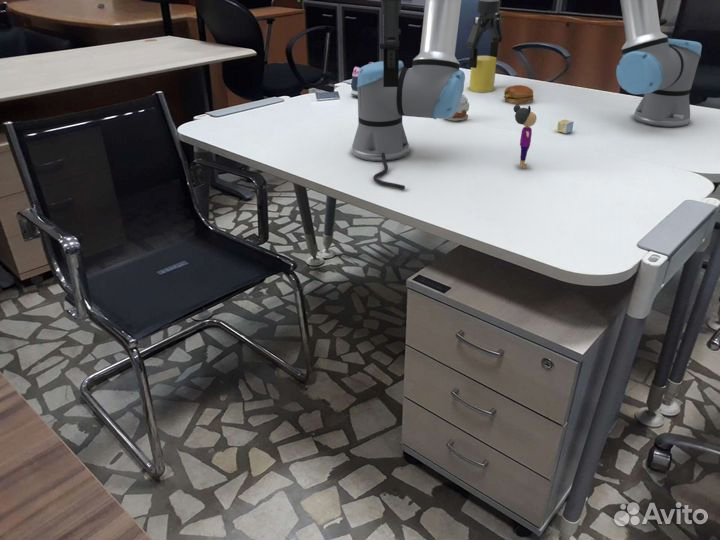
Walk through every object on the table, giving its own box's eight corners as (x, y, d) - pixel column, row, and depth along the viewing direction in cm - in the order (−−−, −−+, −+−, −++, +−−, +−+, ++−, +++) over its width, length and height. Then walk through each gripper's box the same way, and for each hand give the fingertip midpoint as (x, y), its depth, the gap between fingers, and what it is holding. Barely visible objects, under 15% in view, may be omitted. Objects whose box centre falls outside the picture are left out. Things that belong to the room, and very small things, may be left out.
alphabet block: (565, 133, 164) (567, 123, 162) (556, 131, 166) (558, 121, 164) (572, 131, 165) (574, 121, 164) (563, 129, 168) (565, 119, 166)
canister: (485, 85, 216) (488, 54, 210) (498, 90, 209) (501, 59, 203) (465, 87, 214) (467, 56, 208) (477, 93, 206) (479, 61, 201)
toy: (530, 174, 138) (539, 113, 130) (507, 173, 139) (514, 112, 131) (528, 159, 147) (536, 101, 139) (506, 158, 148) (513, 100, 140)
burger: (537, 99, 196) (538, 85, 194) (525, 105, 190) (527, 91, 188) (510, 95, 202) (511, 82, 199) (498, 101, 195) (499, 87, 193)
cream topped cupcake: (469, 115, 182) (472, 66, 174) (466, 122, 175) (469, 72, 168) (444, 114, 184) (447, 66, 176) (441, 121, 177) (443, 71, 169)
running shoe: (411, 86, 217) (412, 56, 211) (366, 100, 200) (365, 68, 195) (392, 82, 222) (392, 53, 217) (346, 96, 206) (345, 65, 200)
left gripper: (416, -48, 87) (412, 94, 98) (410, -53, 108) (408, 64, 119) (367, -46, 87) (369, 94, 98) (371, -52, 109) (372, 64, 120)
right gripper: (498, -5, 206) (492, 57, 217) (459, 2, 190) (454, 68, 201) (517, -3, 201) (509, 59, 213) (478, 4, 186) (472, 71, 197)
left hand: (390, 78), depth 109 cm, fingers open, 13 cm apart
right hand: (482, 64), depth 207 cm, fingers open, 13 cm apart
